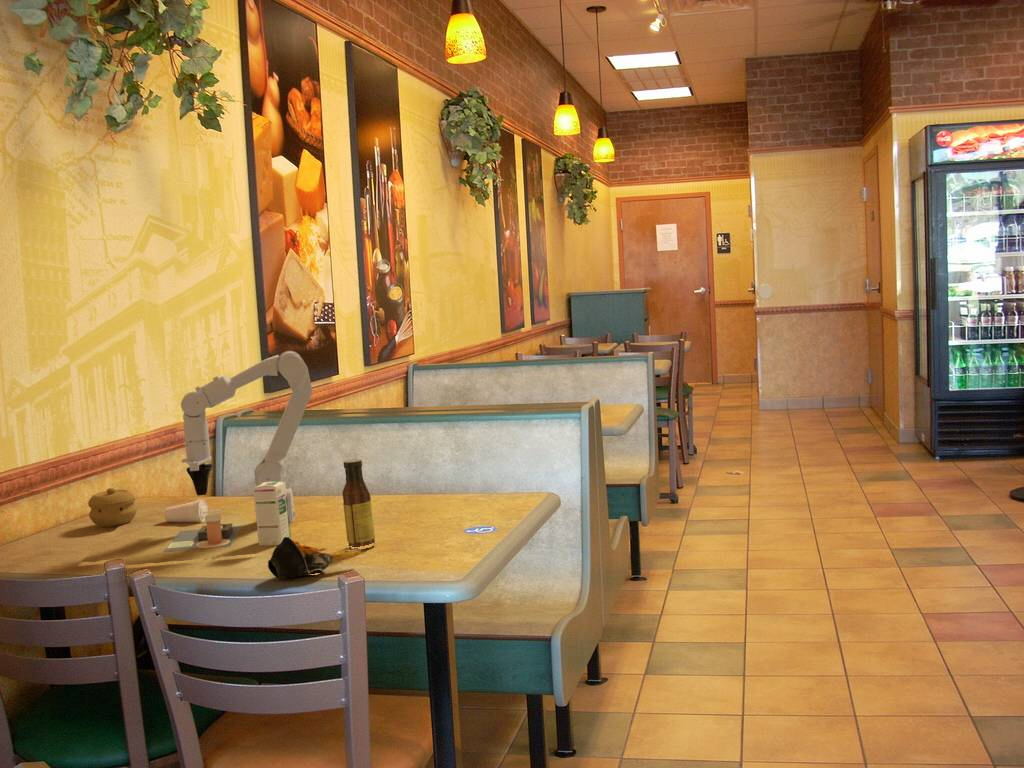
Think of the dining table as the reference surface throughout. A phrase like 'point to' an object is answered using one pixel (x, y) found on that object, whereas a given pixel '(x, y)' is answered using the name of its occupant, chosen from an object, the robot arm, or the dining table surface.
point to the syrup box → (271, 512)
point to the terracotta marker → (213, 528)
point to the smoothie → (188, 512)
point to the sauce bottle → (357, 506)
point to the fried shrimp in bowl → (302, 559)
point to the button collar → (225, 532)
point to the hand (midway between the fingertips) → (202, 494)
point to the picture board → (190, 541)
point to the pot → (112, 508)
